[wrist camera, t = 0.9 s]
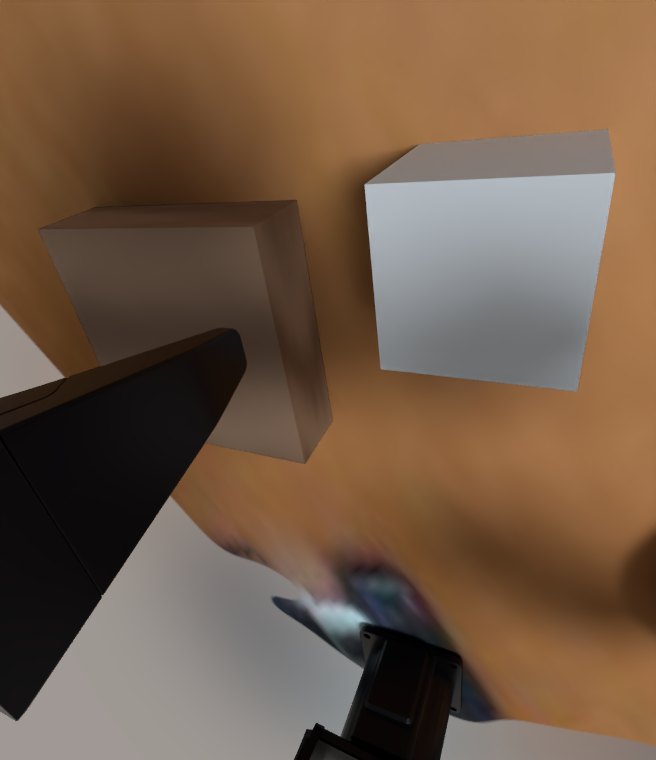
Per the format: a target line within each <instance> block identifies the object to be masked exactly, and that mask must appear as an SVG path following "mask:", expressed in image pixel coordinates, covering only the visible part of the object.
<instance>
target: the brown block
mask: <svg viewBox="0 0 656 760" xmlns="http://www.w3.org/2000/svg"><path fill="white" fill-rule="evenodd" d="M38 230H39V233H40V235H41V237H42V239H43V241H44V243H45V246H46V248H47V250H48V252H49V254H50V257H51V259H52V261H53V263H54V265H55V267H56V270H57V272H58V274H59V276H60V278H61V281H62V283H63V285H64V287H65V289H66V292H67V294H68V296H69V298H70V300H71V302H72V305H73V307H74V309H75V311H76V313H77V316H78V318H79V320H80V322H81V324H82V326H83V329H84V331H85V333H86V335H87V337H88V340H89V342H90V344H91V346H92V348H93V351H94V353H95V355H96V357H97V359H98V361H99V364H100V366H103V365H106V364H109V363H112V362H115V361H118V360H121V359H124V358H127V357H130V356H133V355H137V354H140V353H143V352H146V351H149V350H152V349H155V348H158V347H161V346H164V345H167V344H170V343H173V342H176V341H179V340H182V339H186V338H189V337H192V336H195V335H198V334H201V333H204V332H207V331H210V330H213V329H216V328H220V327H223V328H233V329H236V330H237V331H238V332H239V334H240V336H241V340H242V344H243V348H244V352H245V355H246V359H247V368H246V371H245V374H244V375H243V377H242V379H241V381H240V383H239V385H238V387H237V389H236V391H235V392H234V394H233V396H232V398H231V400H230V402H229V404H228V406H227V408H226V410H225V411H224V413H223V415H222V417H221V419H220V420H219V422H218V424H217V425H216V427H215V429H214V430H213V432H212V433H211V435H210V436H209V438H208V439H207V441H206V442H205V443H207V444H212V445H216V446H221V447H226V448H231V449H235V450H240V451H245V452H250V453H254V454H259V455H264V456H269V457H274V458H278V459H283V460H288V461H293V462H297V463H302V464H305V463H306V462H307V460H308V459H309V457H310V455H311V454H312V452H313V451H314V449H315V448H316V446H317V445H318V443H319V441H320V440H321V438H322V437H323V435H324V434H325V432H326V431H327V429H328V427H329V426H330V424H331V423H332V421H333V419H332V413H331V407H330V401H329V395H328V389H327V383H326V377H325V371H324V365H323V358H322V352H321V346H320V340H319V334H318V328H317V322H316V316H315V310H314V304H313V298H312V292H311V286H310V280H309V273H308V267H307V261H306V255H305V249H304V243H303V237H302V231H301V225H300V219H299V213H298V207H297V201H296V200H287V201H259V202H231V203H203V204H175V205H147V206H119V207H95V208H92V209H90V210H87V211H84V212H82V213H79V214H76V215H74V216H71V217H69V218H66V219H63V220H61V221H58V222H56V223H53V224H50V225H48V226H45V227H42V228H40V229H38Z"/></svg>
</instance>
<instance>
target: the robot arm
mask: <svg viewBox="0 0 656 760" xmlns="http://www.w3.org/2000/svg"><path fill="white" fill-rule="evenodd" d="M246 368H247V359H246V355H245V352H244V348H243V344H242V340H241V336H240V334H239V332H238V331H237V330H236V329H233V328H223V327H220V328H216V329H213V330H210V331H207V332H204V333H201V334H198V335H195V336H192V337H189V338H186V339H182V340H179V341H176V342H173V343H170V344H167V345H164V346H161V347H158V348H155V349H152V350H149V351H146V352H143V353H140V354H137V355H133V356H130V357H127V358H124V359H121V360H118V361H115V362H112V363H109V364H106V365H103V366H100V367H97V368H94V369H91V370H88V371H84V372H81V373H78V374H75V375H72V376H70V377H69V378H63V379H60V380H57V381H54V382H51V383H47V384H44V385H42V386H38V387H35V388H32V389H28V390H25V391H22V392H19V393H15V394H12V395H9V396H5V397H2V398H0V711H1V712H2V713H4V714H5V715H7V716H8V717H10V718H12V719H14V720H15V721H18V720H19V719H20V717H21V716H22V715H23V714H24V713H25V711H26V710H27V709H28V707H29V706H30V704H31V703H32V701H33V700H34V698H35V697H36V695H37V694H38V692H39V691H40V690H41V688H42V687H43V685H44V683H45V682H46V681H47V679H48V678H49V676H50V674H51V673H52V672H53V670H54V669H55V667H56V666H57V664H58V663H59V661H60V660H61V658H62V657H63V655H64V653H65V652H66V651H67V649H68V648H69V646H70V644H71V643H72V642H73V640H74V639H75V637H76V636H77V634H78V633H79V631H80V630H81V628H82V627H83V625H84V624H85V622H86V621H87V619H88V618H89V616H90V615H91V613H92V612H93V610H94V608H95V607H96V606H97V604H98V603H99V601H100V600H101V598H102V596H101V595H103V594H104V593H105V592H106V590H107V589H108V587H109V585H110V584H111V583H112V581H113V579H114V578H115V577H116V575H117V573H118V572H119V571H120V569H121V568H122V566H123V565H124V563H125V562H126V560H127V558H128V557H129V556H130V554H131V553H132V551H133V550H134V548H135V547H136V545H137V544H138V542H139V540H140V539H141V538H142V536H143V535H144V533H145V532H146V530H147V529H148V527H149V526H150V524H151V523H152V521H153V520H154V518H155V517H156V515H157V514H158V512H159V511H160V509H161V508H162V506H163V505H164V503H165V502H166V500H167V499H168V498H169V496H170V495H171V493H172V492H173V490H174V489H175V487H176V486H177V484H178V483H179V481H180V480H181V478H182V477H183V475H184V474H185V472H186V471H187V469H188V468H189V466H190V465H191V463H192V462H193V460H194V459H195V457H196V456H197V454H198V453H199V451H200V450H201V448H202V447H203V445H204V444H205V442H206V441H207V439H208V438H209V436H210V435H211V433H212V432H213V430H214V429H215V427H216V425H217V424H218V422H219V420H220V419H221V417H222V415H223V413H224V411H225V410H226V408H227V406H228V404H229V402H230V400H231V398H232V396H233V394H234V392H235V391H236V389H237V387H238V385H239V383H240V381H241V379H242V377H243V375H244V374H245V371H246ZM360 637H361V642H362V648H363V654H364V659H365V668H364V671H363V674H362V677H361V680H360V683H359V685H358V688H357V691H356V694H355V697H354V700H353V702H352V705H351V708H350V711H349V714H348V717H347V720H346V723H345V726H344V728H343V731H342V734H341V737H340V736H338V735H336V734H334V733H332V732H330V731H328V730H326V729H325V728H324V726H322V725H320V724H318V723H316V724H315V726H314V728H313V730H309V729H307V730H306V732H305V734H304V737H303V739H302V742H301V745H300V747H299V749H298V752H297V754H296V756H295V759H294V760H440V757H441V752H442V748H443V743H444V738H445V733H446V728H447V723H448V719H449V714H450V711H451V712H453V713H460V711H461V706H462V676H463V662H462V660H461V659H460V658H459V657H457V656H454V655H452V654H449V653H446V652H443V651H440V650H437V649H434V648H431V647H428V646H425V645H422V644H419V643H416V642H413V641H410V640H407V639H405V638H402V637H399V636H396V635H393V634H390V633H387V632H384V631H381V630H378V629H375V628H372V627H369V626H362V629H361V631H360Z"/></svg>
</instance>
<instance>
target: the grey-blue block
mask: <svg viewBox="0 0 656 760" xmlns="http://www.w3.org/2000/svg"><path fill="white" fill-rule="evenodd" d="M614 178H615V167H614V161H613V155H612V149H611V142H610V136H609V130H608V129H605V130H593V131H580V132H567V133H554V134H541V135H528V136H515V137H502V138H489V139H476V140H463V141H450V142H438V143H425V144H419V145H418V146H416V147H415V148H414V149H412V150H411V151H410V152H408V153H407V154H405V155H404V156H403V157H401V158H400V159H399V160H397V161H396V162H394V163H393V164H392V165H390V166H389V167H388V168H386V169H385V170H384V171H382V172H381V173H379V174H378V175H377V176H375V177H374V178H373V179H371V180H370V181H368V182H367V183H366V184H364V185H365V196H366V208H367V219H368V231H369V242H370V253H371V265H372V276H373V288H374V299H375V311H376V322H377V333H378V345H379V356H380V368H381V369H383V370H392V371H401V372H409V373H418V374H427V375H436V376H445V377H453V378H462V379H471V380H480V381H489V382H497V383H506V384H515V385H524V386H533V387H541V388H550V389H559V390H568V391H577V389H578V383H579V378H580V372H581V366H582V361H583V355H584V349H585V344H586V338H587V332H588V327H589V321H590V315H591V309H592V304H593V298H594V292H595V287H596V281H597V275H598V270H599V264H600V258H601V252H602V247H603V241H604V235H605V230H606V224H607V218H608V213H609V207H610V201H611V195H612V190H613V184H614Z"/></svg>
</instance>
